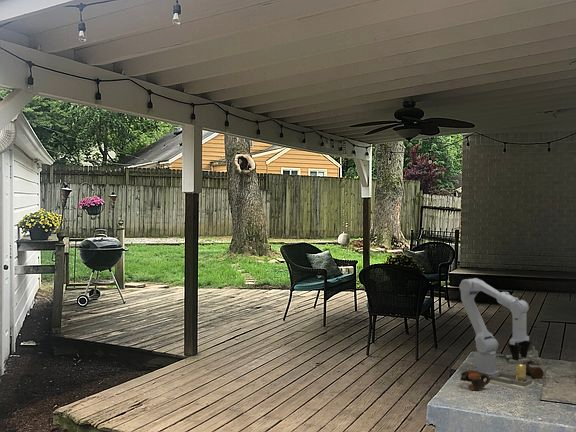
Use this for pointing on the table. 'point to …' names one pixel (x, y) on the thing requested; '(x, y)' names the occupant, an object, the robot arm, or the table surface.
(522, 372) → the brass peg
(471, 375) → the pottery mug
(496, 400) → the table surface
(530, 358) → the bike brake
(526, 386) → the keyhole plate
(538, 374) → the bolt
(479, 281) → the robot arm
